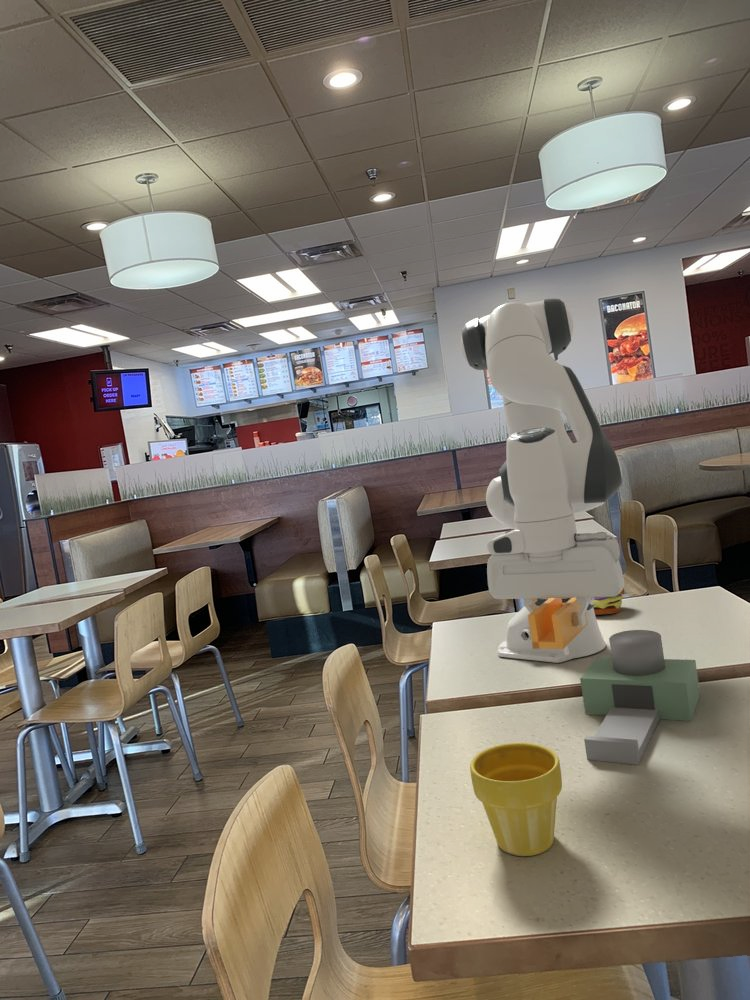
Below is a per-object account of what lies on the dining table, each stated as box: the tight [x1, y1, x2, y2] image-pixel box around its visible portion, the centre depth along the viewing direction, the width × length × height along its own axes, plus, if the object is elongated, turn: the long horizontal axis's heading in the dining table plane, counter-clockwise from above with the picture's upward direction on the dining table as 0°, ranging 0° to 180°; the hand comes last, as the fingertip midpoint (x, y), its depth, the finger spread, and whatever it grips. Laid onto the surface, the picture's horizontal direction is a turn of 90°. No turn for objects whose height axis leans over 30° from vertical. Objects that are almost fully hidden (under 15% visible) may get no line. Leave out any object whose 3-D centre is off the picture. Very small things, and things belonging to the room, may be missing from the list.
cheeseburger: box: [593, 587, 626, 616], centre depth 170 cm, size 10×11×10 cm
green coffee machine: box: [579, 629, 701, 766], centre depth 107 cm, size 16×25×11 cm, turn 147°
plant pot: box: [469, 742, 563, 857], centre depth 82 cm, size 10×10×10 cm
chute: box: [528, 598, 588, 649], centre depth 105 cm, size 5×12×5 cm, turn 146°
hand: (560, 625), depth 106 cm, fingers closed on chute, 5 cm apart
